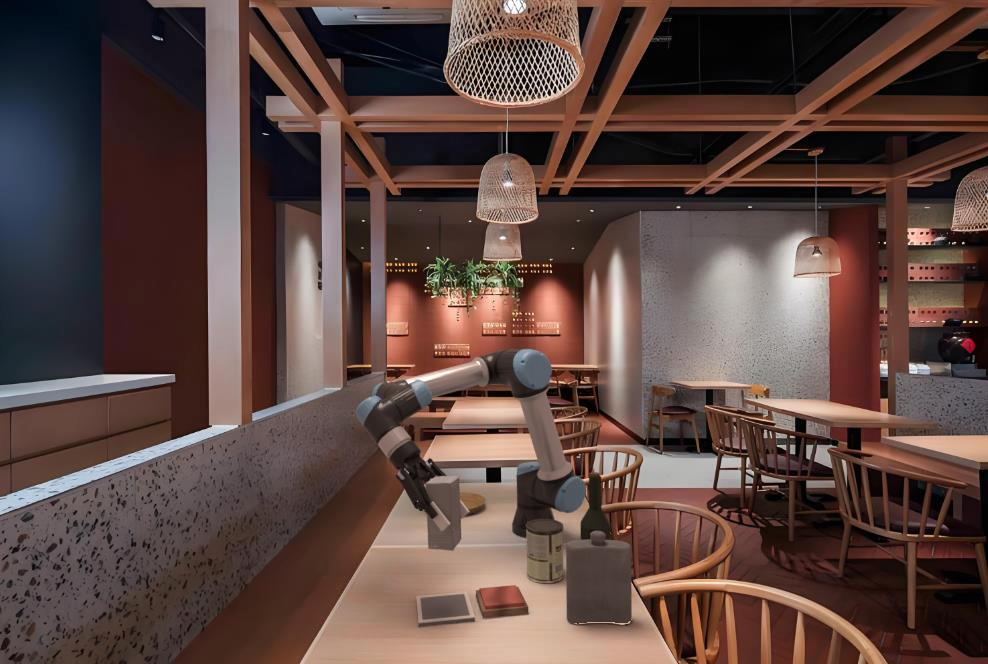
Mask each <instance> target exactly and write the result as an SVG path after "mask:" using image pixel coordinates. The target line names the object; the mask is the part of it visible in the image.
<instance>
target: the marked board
mask: <svg viewBox="0 0 988 664" xmlns="http://www.w3.org/2000/svg"><path fill="white" fill-rule="evenodd" d="M415 600H416V601H415V602H416V613H417V614H416V615H417V625H418V628H420V627H421V626H423V627H430V626H431V627H432V626H441V625H452V624H461V623H470V622H471V623H472V622H475V621H476V618H475V612H474V609H473V605H472V603H471V598H470V595H469V592H468V591H460V592H459V591H457V592H450V593H449V592H448V593H436V594H426V595H416V596H415ZM421 628H422V627H421Z"/></svg>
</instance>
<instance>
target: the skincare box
mask: <svg viewBox="0 0 988 664" xmlns="http://www.w3.org/2000/svg"><path fill="white" fill-rule="evenodd" d="M425 488H426V493H427V494H428V497H429V499H430V503H431V502H433V501H434V503H435V504H436V505H437V507H438V508H439V509H440V510H441V512H442V513H443V514H444V516H445V517H446V518H447V520H448V521H449V522H450V524H449V525H448V526H447V527H446V528H445V529H444V530H443V531H441V530H440V529H439V527H438V526H437V525H436V523H435V522H434V521H433V520H432V519H431V518H430V516H429V515H428V514H427V513H426V522H427V523H426V526H427V546H428V547H427V548H428V549H429V550H439V551H440V550H441V551H442V550H444V551H451V552H454V551H455V548H456V547H458V545H459V544H460V542H461V541H462V519H461V513H460V492H461V491H460V489H461V488H460V475H459V476H457V475H448V476H436V477H434V478H432V479H430V481H428V482H426V483H425Z"/></svg>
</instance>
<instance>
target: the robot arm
mask: <svg viewBox="0 0 988 664" xmlns="http://www.w3.org/2000/svg"><path fill="white" fill-rule="evenodd" d="M552 371H553V369H552V365H551V362H550V360H549V358H548V357H547V356H546V355H545V353H543V352H541V351H539V350H535V349H532V348H524V349H521V348H518V349H516V348H515V349H514V348H511V349H510V348H505V349H500V350H497V351H493V352H490V353H486V354H483V355H481V356H476V357H474V358H473V359H472V361H469V362H466V363H463V364H458V365H455V366H451V367H447V368H443V369H439V370H438V369H437V370H436V371H431V372H427V373H423V374H419V375H416V376H411V377H408V378H404V379H401V380H395V381H392V382H388V381H385V382H380V383H378V384H377V385H375V386H374V387H373V390H372V392H371V396H369V397H367V398H366V399H364V400H363V401H361V402H360V403H359V405H358V406H357V407H356V410H355V416H356V418H357V420H358V421H359V422H360V424H361V425H362V427H363V428H364V429H365V430H366V432H367V433H368V434H369V435H370V437H371V438H372V440H373V441H375V443H376V445H377V446H378V447H379V448H380V450H381V452H382V453H383V454H384V455H385V456H386V458H389V459H388V461H389V462H390V464H392V466H393V467H394V468H395V470H397V471H398V472H397V474H396V475H395V478H396V479H397V480H398V481H399V483H400V484H401V486H402V488H403V489H404V491H405V493H406V494H407V496H408V498H409V500H410V501H411V504H412V505H413V507H414V508H415V509H416V510H418V511H420V512H423V510H424V511H425V512H426V515H427V514H428V515H429V516H430V518H431V519H432V520H433V521H434V522H435V523H436V525H437V526H438V527H439V529H440V530H441V531H443V530H444V529H445V528H446V527H447V526H448V525H449V524H450V522H449V521H448V520H447V518H446V517H445V516H444V514H443V513H442V512H441V510H440V509H439V508H438V507H437V505H436V504H435V503H434V501H433V502H431V503H430V499H429V497H428V494H427V493H426V485H425V483H424V482H426V483H427V482H428V481H430V479H432V478H434V477H436V476H447V475H446V473H445V472H444V471H443V470H442V469H440V467H439V466H438V465H437V464H436V463H435V461H434V460H433V459H432V458H430V457H429V458H428V459H427V460H425V459H423V457H421V452H422V451H421V449H420V447H419V446H418V445H417V444H416V443H415V441H414V440H412V437H411V435H409V433H408V432H407V430H405V428H404V427H403V426H402V425H401V423H402V422H404V421H405V420H407V419H409V418H410V417H412V416H413V415H416V414H417V413H418V412H420V411H421V410H424V408H425V407H427V406H428V405H430V404H431V403H432V401H433V398H437V397H439V396H443V395H447V394H452V393H454V392H457V391H462V390H465V389H469V388H472V387H475V386H479V387H482V388H483V387H487V386H491V385H492V386H494V385H499V386H509V388H510V390H511V394H512V397H513V399H515V400H517V401H519V403H520V407H521V410H522V414H523V417H524V420H525V423H526V427H527V429H528V433H529V436H530V439H531V443H532V446H533V449H534V453H535V455H536V460H537V461H529V462H523V463H520V464H519V465H517V467H516V474H515V477H516V510H515V513H514V516H513V520H512V523H511V531H512V533H513V534H514V535H517V536H519V537H523V538H526V523H527V522H529V521H531V520H535V519H552V520H556V519H555V516H554V514H553V513H554V512H553V510H555V511H558V512H560V513H564V514H565V513H566V514H571V513H574V512H576V511H577V510H578V509H580V507H581V506H582V505H583V503H584V499H585V498H586V493H587V487H586V483H585V481H584V479H583V478H581V477H580V476H578V475H576V473H575V470H574V468H573V464H572V463H571V462H569V461H568V460H566V457H565V452H564V450H563V446H562V443H561V439H560V436H559V433H558V429H557V426H556V422H555V418H554V416H553V412H552V409H551V405H550V402H549V399H548V396H547V393H548V391H549V389H550V385H549V383H550V382H551V379H552V378H551V376H552ZM469 512H470V511H469V510H468V509H467V507H466V506H465V505H464V504H463V502H462V501H461V500H460V513H461V520H462V519H464V517H466V516H468V515H467V514H468V513H469Z"/></svg>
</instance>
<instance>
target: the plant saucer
mask: <svg viewBox="0 0 988 664" xmlns="http://www.w3.org/2000/svg"><path fill="white" fill-rule="evenodd" d="M460 500H461V501H462V502H463V504H464V505H465V506H466V507H467V509H468V510H469V511H470V512H469V513H468V514H469V515H472V514H474V512H475V513H477V512H478V511H480V510H481V509H482V508H483V507H484V505H485V504H486V501H487V500H486V498H485V497H484V496H483V495H481V494H478V493H473V492H465V491H464V492H463V491H460ZM468 514H467V515H466V516H469V515H468Z"/></svg>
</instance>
